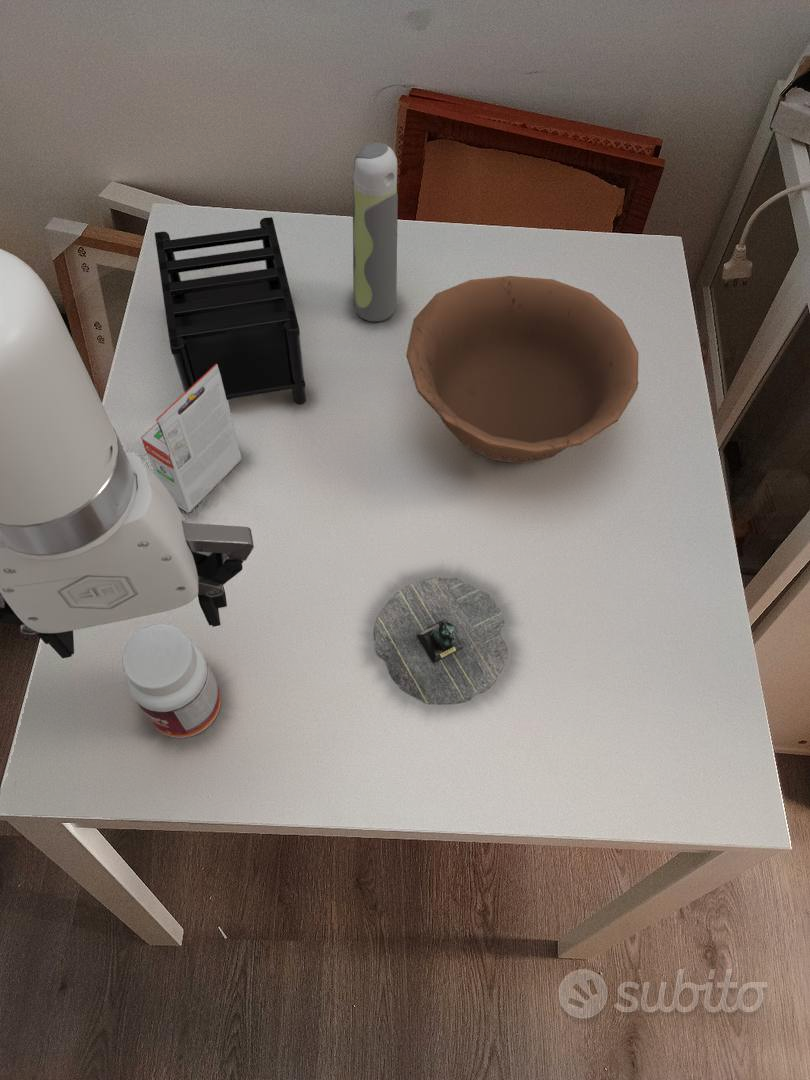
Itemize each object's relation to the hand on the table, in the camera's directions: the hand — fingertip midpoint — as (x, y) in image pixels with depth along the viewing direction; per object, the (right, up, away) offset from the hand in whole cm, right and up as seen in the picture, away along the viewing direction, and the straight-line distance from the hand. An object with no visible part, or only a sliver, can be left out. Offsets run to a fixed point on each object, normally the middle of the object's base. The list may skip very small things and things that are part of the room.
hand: (141, 622), depth 56 cm
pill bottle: (-1, -9, +15) cm, 18 cm away
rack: (0, +26, +35) cm, 43 cm away
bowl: (+29, +18, +31) cm, 46 cm away
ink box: (-2, +11, +27) cm, 29 cm away
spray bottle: (+14, +32, +39) cm, 52 cm away
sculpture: (+21, -3, +19) cm, 29 cm away
